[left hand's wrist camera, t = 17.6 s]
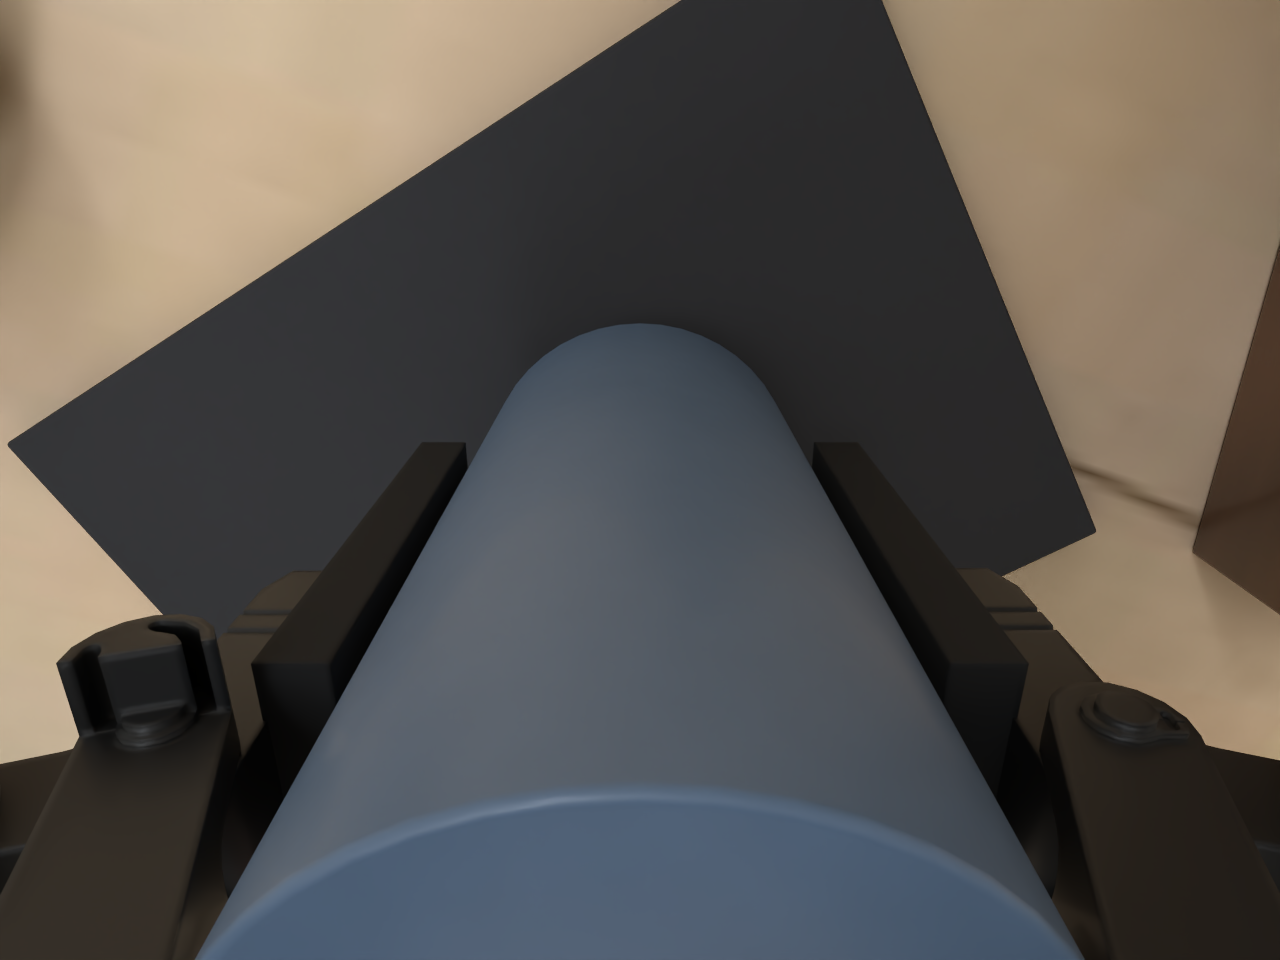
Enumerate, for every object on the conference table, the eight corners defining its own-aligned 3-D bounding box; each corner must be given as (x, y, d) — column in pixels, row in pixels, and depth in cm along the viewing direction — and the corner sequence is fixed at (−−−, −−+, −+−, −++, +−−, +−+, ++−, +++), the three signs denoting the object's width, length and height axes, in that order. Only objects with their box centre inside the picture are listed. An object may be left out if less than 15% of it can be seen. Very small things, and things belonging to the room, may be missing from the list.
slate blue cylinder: (590, 645, 18) (505, 1476, 7) (431, 419, 16) (-78, 1051, 5) (838, 521, 17) (1249, 1269, 5) (700, 262, 15) (892, 591, 3)
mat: (395, 844, 23) (389, 862, 22) (24, 435, 18) (4, 444, 17) (1084, 521, 19) (1097, 533, 18) (832, -96, 14) (840, -106, 14)
